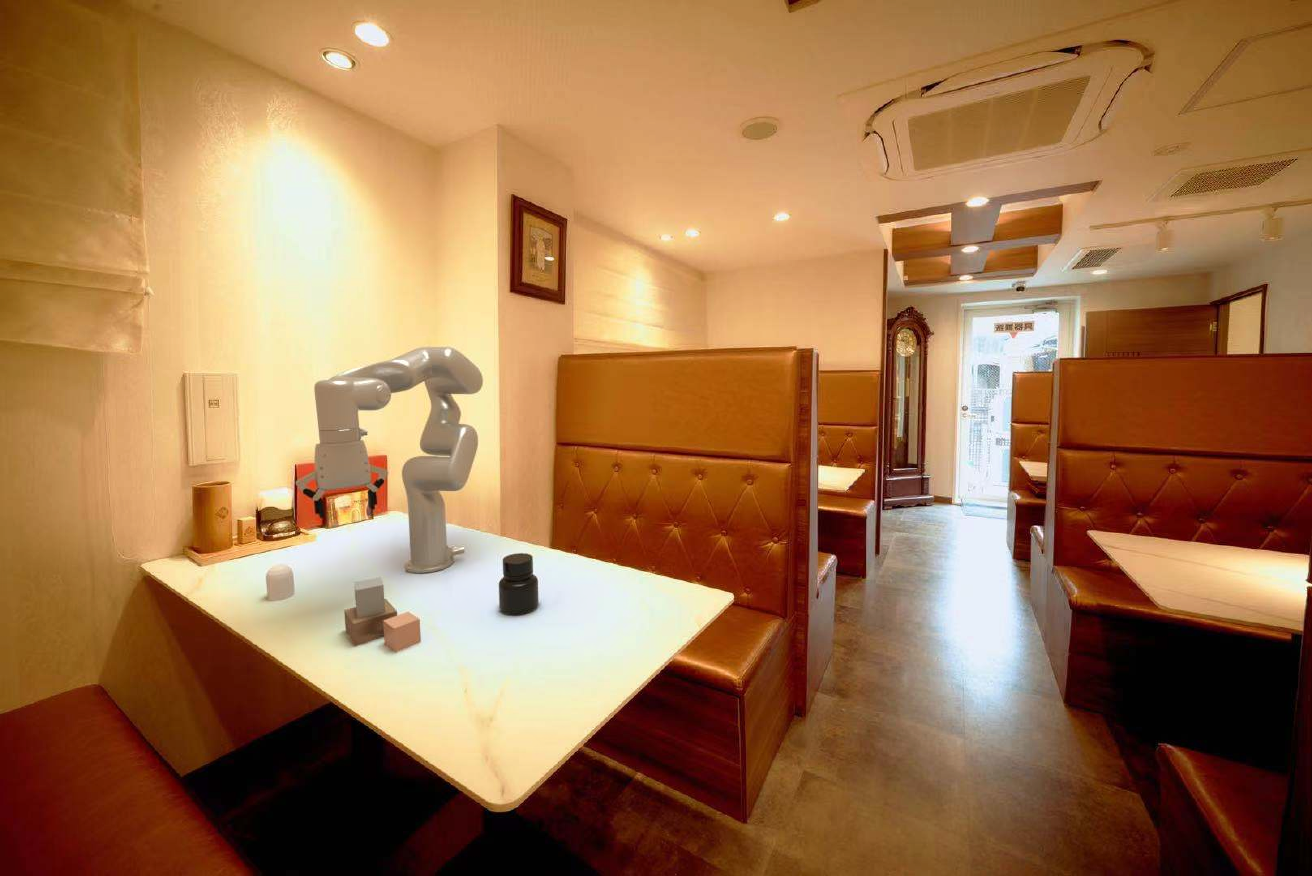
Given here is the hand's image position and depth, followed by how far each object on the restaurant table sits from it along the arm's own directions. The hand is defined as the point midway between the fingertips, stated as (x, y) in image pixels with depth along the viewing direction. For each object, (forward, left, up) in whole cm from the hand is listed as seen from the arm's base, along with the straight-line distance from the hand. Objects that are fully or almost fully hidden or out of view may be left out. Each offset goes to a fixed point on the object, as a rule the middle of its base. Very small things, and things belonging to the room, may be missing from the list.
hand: (347, 512), depth 110 cm
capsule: (+14, -21, -24) cm, 34 cm away
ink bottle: (-31, +19, -24) cm, 44 cm away
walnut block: (-2, +12, -24) cm, 27 cm away
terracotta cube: (-6, +20, -24) cm, 32 cm away
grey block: (-2, +12, -19) cm, 22 cm away
